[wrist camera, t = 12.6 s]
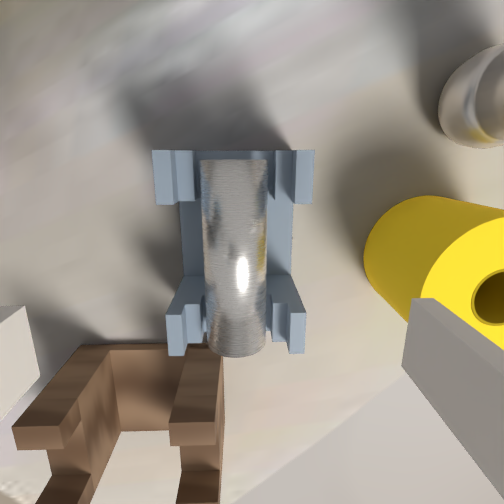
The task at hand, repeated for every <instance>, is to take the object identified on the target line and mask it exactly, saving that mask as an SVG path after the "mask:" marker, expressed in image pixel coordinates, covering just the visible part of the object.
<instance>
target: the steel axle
mask: <svg viewBox="0 0 504 504" xmlns="http://www.w3.org/2000/svg"><path fill="white" fill-rule="evenodd" d="M199 163H200V186H201V209H202V233H203V256H204V279H205V302H206V325H207V344H208V347H209V348H210V350H211V351H213V352H214V353H216V354H218V355H221V356H224V357H231V358H238V357H246V356H250V355H253V354H255V353H257V352H259V351H260V350H261V349H262V348H263V347H264V345H265V340H266V267H267V195H268V160H256V159H212V160H199Z"/></svg>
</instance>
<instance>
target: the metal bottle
mask: <svg viewBox="0 0 504 504" xmlns="http://www.w3.org/2000/svg"><path fill="white" fill-rule="evenodd" d="M438 116H439V122H440V125H441V128H442V130H443V131H444V133H445V135H446V136H447V137H448V138H449V139H450V140H452V141H454V142H455V143H457V144H460V145H463V146H467V147H472V148H479V149H485V148H492V147H497V146H502V145H504V44H500V45H496V46H493V47H490V48H487V49H484V50H483V51H481V52H479V53H477V54H476V55H474V56H473V57H472V58H470V59H469V60H467V61H466V62H465V63H463V64H462V65H461V66H460V67H458V68H457V69H456V70H455V71H454V73H453V74H452V75H451V76H450V77H449V79H448V81H447V82H446V84H445V85H444V88H443V90H442V93H441V96H440V100H439V106H438Z"/></svg>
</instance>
